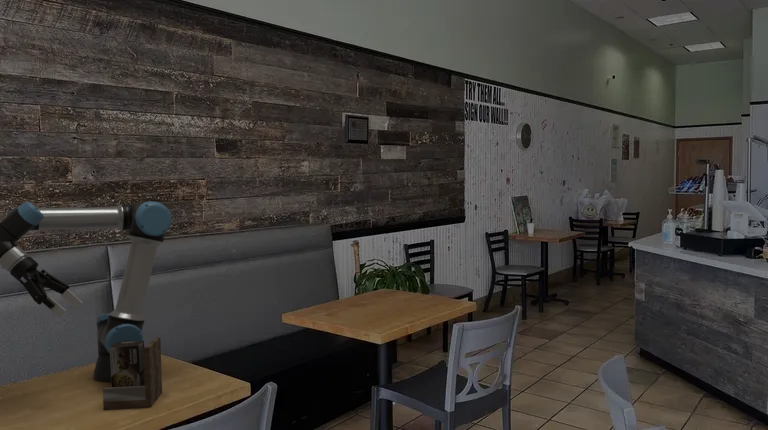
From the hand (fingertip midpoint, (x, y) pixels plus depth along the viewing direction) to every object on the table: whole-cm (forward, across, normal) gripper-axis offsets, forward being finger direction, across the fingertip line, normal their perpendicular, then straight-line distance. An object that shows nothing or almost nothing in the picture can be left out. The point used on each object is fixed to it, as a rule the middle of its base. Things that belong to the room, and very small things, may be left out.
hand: (71, 309), depth 193 cm
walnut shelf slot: (+34, +2, -8) cm, 35 cm away
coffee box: (+31, +2, -7) cm, 32 cm away
